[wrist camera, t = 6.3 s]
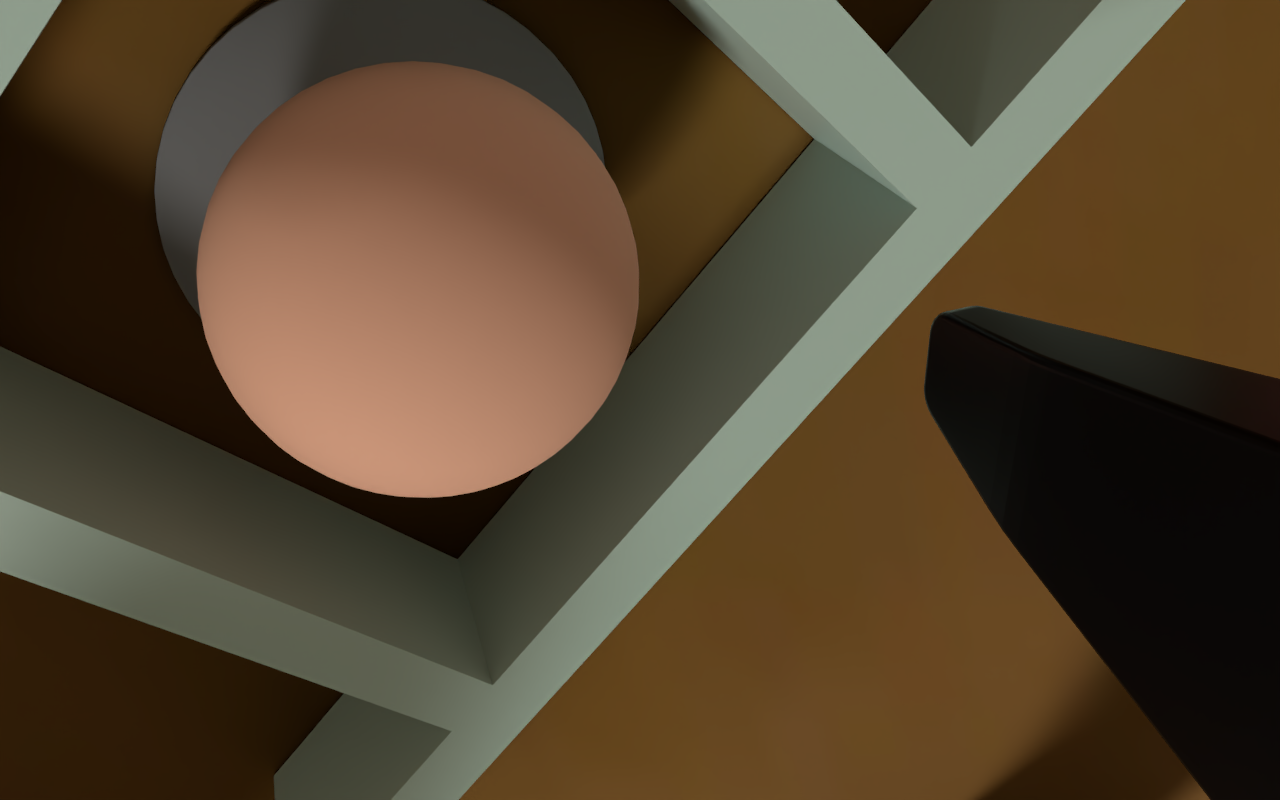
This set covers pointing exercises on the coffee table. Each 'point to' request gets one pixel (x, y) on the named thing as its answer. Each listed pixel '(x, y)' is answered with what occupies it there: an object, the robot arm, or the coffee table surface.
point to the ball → (418, 279)
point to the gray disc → (309, 53)
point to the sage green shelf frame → (606, 446)
